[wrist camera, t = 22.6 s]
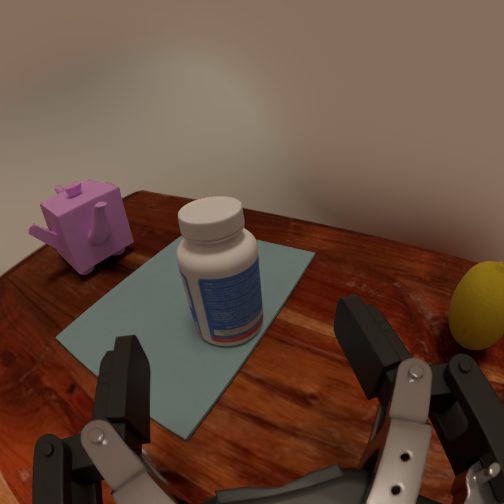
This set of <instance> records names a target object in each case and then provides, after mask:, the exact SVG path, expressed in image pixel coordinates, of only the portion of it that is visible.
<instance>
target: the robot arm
mask: <svg viewBox="0 0 504 504" xmlns="http://www.w3.org/2000/svg"><path fill="white" fill-rule="evenodd" d="M334 332H335V336H336V338H337V340H338V342H339V344H340V346H341V348H342V350H343V352H344V354H345V356H346V358H347V360H348V361H349V363H350V365H351V367H352V369H353V371H354V373H355V375H356V377H357V379H358V381H359V383H360V385H361V387H362V389H363V391H364V393H365V395H366V397H367V399H368V400H370V399H373V398H375V397H377V398H378V400H379V402H380V403H379V405H378V408H377V412H376V416H375V420H374V423H373V427H372V430H371V434H370V437H369V441H368V444H367V446H366V448H365V450H364V452H363V454H362V457H361V459H360V462H359V465H358V467H357V468H341V467H340V464H339V463H338V464H335V465H332V466H329V467H326V468H323V469H320V470H316V471H313V472H310V473H308V474H306V475H304V476H302V477H300V478H298V479H297V480H295V481H293V482H291V483H289V484H287V485H285V486H282V487H241V488H234V489H226V490H218V491H215V493H216V496H213V497H211V498H209V499H207V500H205V501H203V502H202V503H200V504H442V503H439V502H436V501H434V500H431V499H429V498H426V497H424V496H421V495H419V490H420V487H421V483H422V479H423V474H424V470H425V466H426V461H427V456H428V451H429V446H430V440H431V434H432V425H431V424H430V423H428V416H429V418H430V420H431V422H432V424H433V427H434V429H435V431H436V433H437V435H438V437H439V439H440V442H441V444H442V446H443V448H444V450H445V453H446V455H447V457H448V459H449V462H450V464H451V466H452V469H453V471H454V474H455V476H456V477H455V479H454V481H453V484H452V488H451V494H452V496H453V502H452V504H504V407H503V405H502V403H501V402H500V400H499V398H498V396H497V395H496V393H495V391H494V390H493V388H492V386H491V385H490V383H489V382H488V380H487V378H486V377H485V375H484V374H483V372H482V371H481V369H480V367H479V366H478V364H477V363H476V361H475V360H474V359H473V358H472V357H471V356H469V355H467V354H456V355H454V356H453V357H452V358H451V360H450V361H449V363H446V364H437V365H428V364H427V363H426V362H424V361H423V360H421V359H417V358H413V357H412V356H411V354H410V353H409V351H408V350H407V349H406V347H405V346H404V344H403V343H402V341H401V340H400V338H399V337H398V335H397V334H396V332H395V331H394V330H393V329H392V327H391V325H390V324H389V322H387V320H386V318H385V317H384V315H383V314H382V313H381V311H380V310H378V309H377V308H375V307H374V306H373V305H371V304H368V305H365V304H364V303H363V301H362V300H361V298H360V297H359V296H358V295H352V296H348V297H344V298H340V299H339V300H338V302H337V309H336V315H335V321H334ZM150 378H151V370H150V364H149V360H148V358H147V356H146V354H145V352H144V350H143V348H142V346H141V344H140V342H139V340H138V338H137V336H136V335H126V336H117V337H116V339H115V344H114V350H111V351H107V352H106V354H105V355H104V357H103V358H102V360H101V363H100V368H99V375H98V381H97V382H98V384H97V387H96V394H95V401H94V409H93V417H92V421H91V422H89V423H88V424H87V425H86V426H85V427H84V428H83V430H82V432H81V433H80V434H78V435H74V436H71V437H68V438H64V439H60V438H58V437H57V436H55V435H53V434H45V435H43V436H41V437H40V438H39V439H38V440H37V442H36V445H35V450H34V462H33V485H32V504H103V499H102V485H101V481H102V480H105V481H106V482H107V483H108V485H109V486H110V488H111V489H112V492H111V495H112V497H113V499H114V500H115V502H116V503H117V504H193V503H191V502H190V501H189V500H188V499H187V498H186V497H185V496H184V495H183V494H181V493H180V492H179V491H178V490H177V489H175V488H174V487H173V486H172V485H171V484H170V483H169V482H168V481H167V480H166V479H165V478H164V477H163V476H162V475H161V474H160V473H159V471H158V470H157V469H156V468H155V467H154V466H153V465H152V464H151V463H150V462H149V460H148V459H147V458H146V457H145V456H144V455H143V454H142V444H147V443H150Z"/></svg>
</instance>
